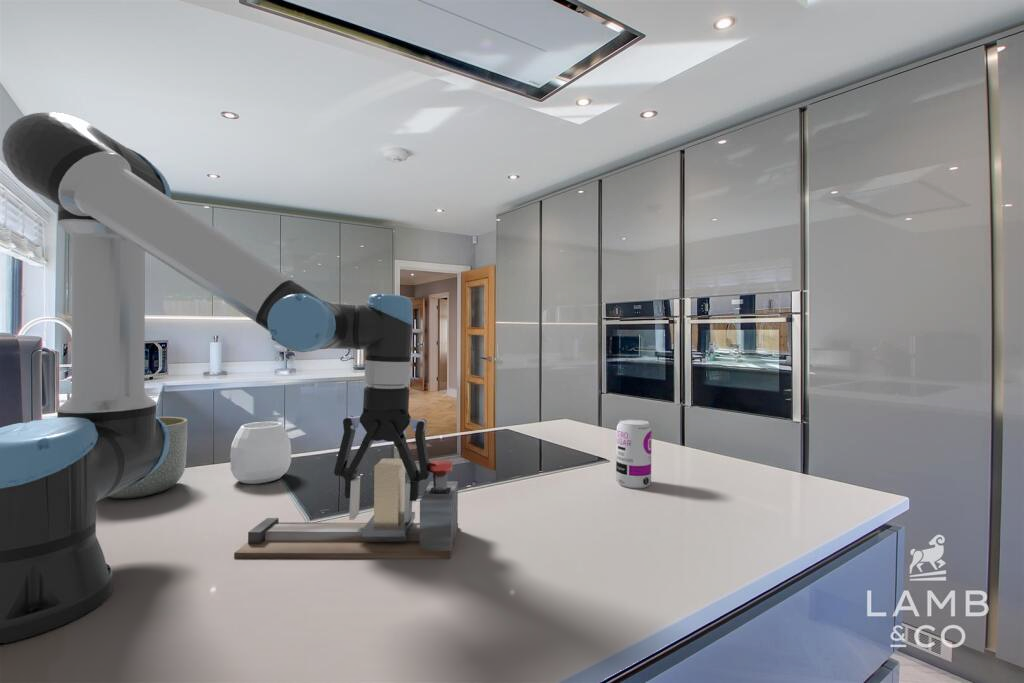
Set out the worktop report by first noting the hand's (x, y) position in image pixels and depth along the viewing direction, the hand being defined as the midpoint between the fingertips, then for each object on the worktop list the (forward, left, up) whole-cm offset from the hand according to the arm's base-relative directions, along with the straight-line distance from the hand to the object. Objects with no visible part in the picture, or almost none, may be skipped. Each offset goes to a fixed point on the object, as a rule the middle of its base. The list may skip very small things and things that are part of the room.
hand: (380, 517), depth 79 cm
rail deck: (0, +4, -4) cm, 6 cm away
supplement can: (+32, -52, -4) cm, 61 cm away
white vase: (+34, +38, -4) cm, 52 cm away
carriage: (0, -1, -3) cm, 3 cm away
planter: (+25, +60, -4) cm, 66 cm away
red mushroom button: (0, -10, +2) cm, 10 cm away
